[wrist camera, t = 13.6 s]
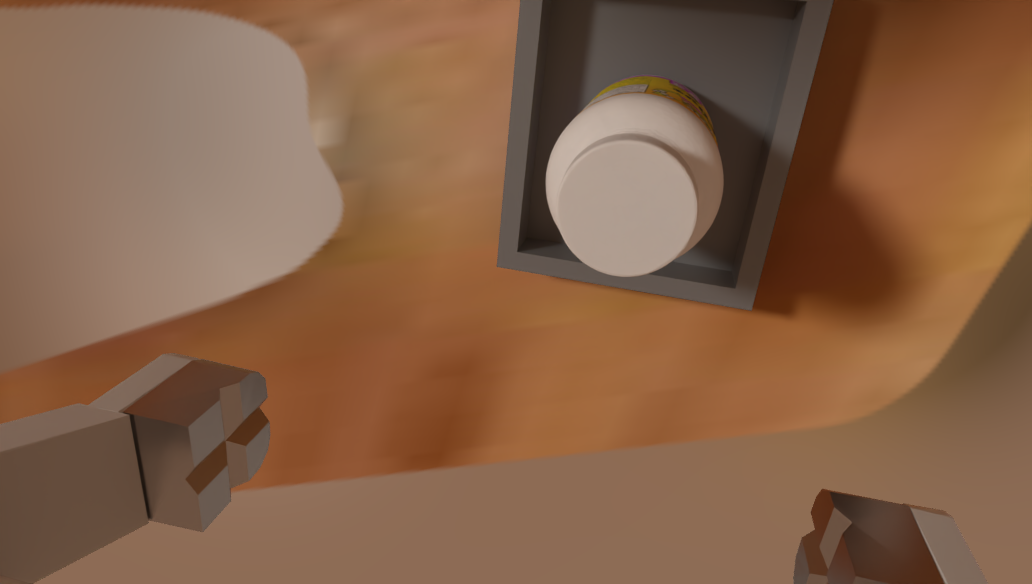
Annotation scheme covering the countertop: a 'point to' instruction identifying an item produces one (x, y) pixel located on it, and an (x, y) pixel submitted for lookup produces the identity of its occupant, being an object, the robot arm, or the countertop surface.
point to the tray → (702, 69)
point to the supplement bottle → (636, 176)
